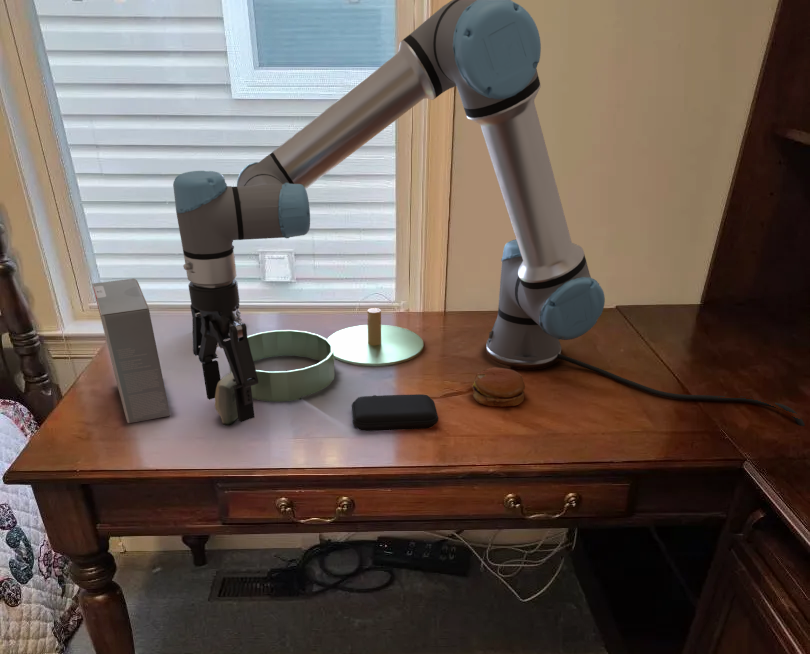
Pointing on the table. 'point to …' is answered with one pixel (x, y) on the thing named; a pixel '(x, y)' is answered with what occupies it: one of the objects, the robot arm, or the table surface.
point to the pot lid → (375, 343)
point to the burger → (499, 387)
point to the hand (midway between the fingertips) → (230, 407)
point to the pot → (295, 381)
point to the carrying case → (394, 412)
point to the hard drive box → (132, 349)
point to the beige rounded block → (226, 400)
